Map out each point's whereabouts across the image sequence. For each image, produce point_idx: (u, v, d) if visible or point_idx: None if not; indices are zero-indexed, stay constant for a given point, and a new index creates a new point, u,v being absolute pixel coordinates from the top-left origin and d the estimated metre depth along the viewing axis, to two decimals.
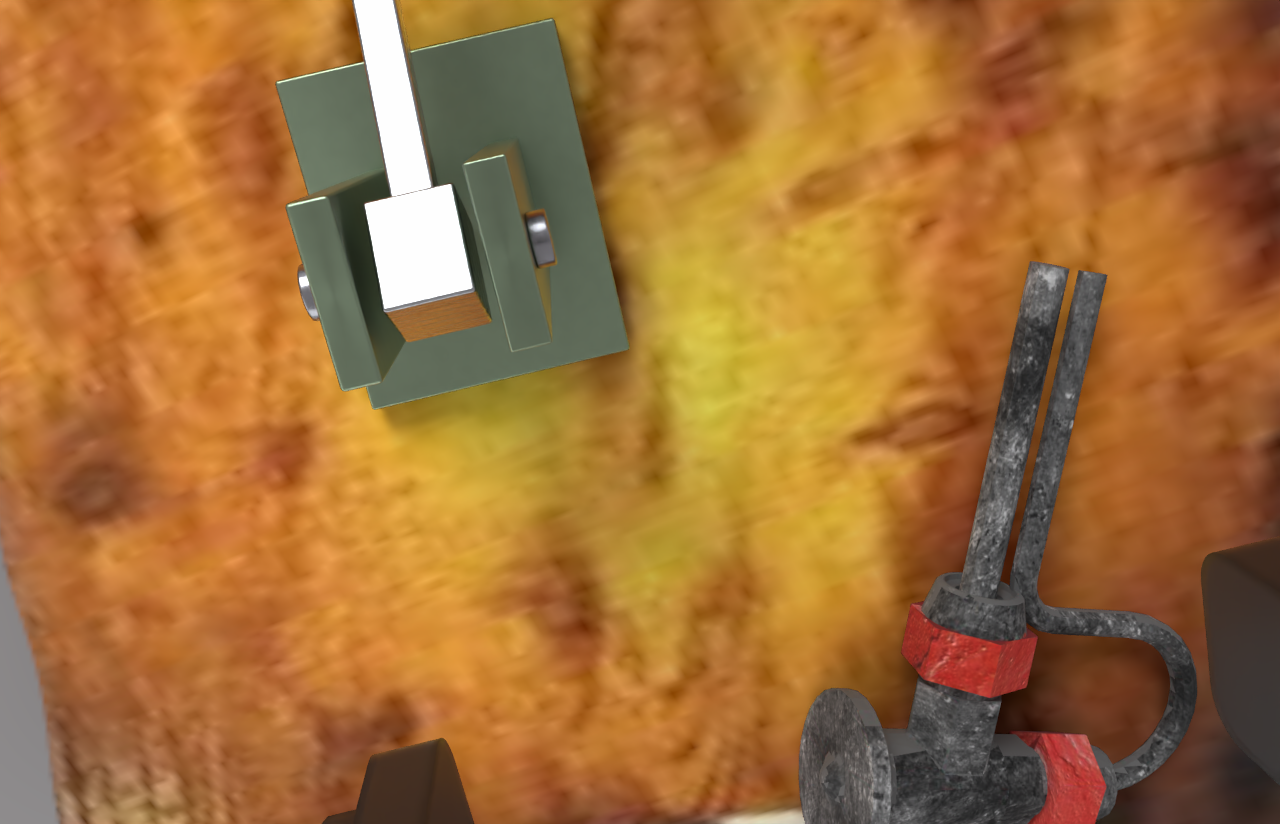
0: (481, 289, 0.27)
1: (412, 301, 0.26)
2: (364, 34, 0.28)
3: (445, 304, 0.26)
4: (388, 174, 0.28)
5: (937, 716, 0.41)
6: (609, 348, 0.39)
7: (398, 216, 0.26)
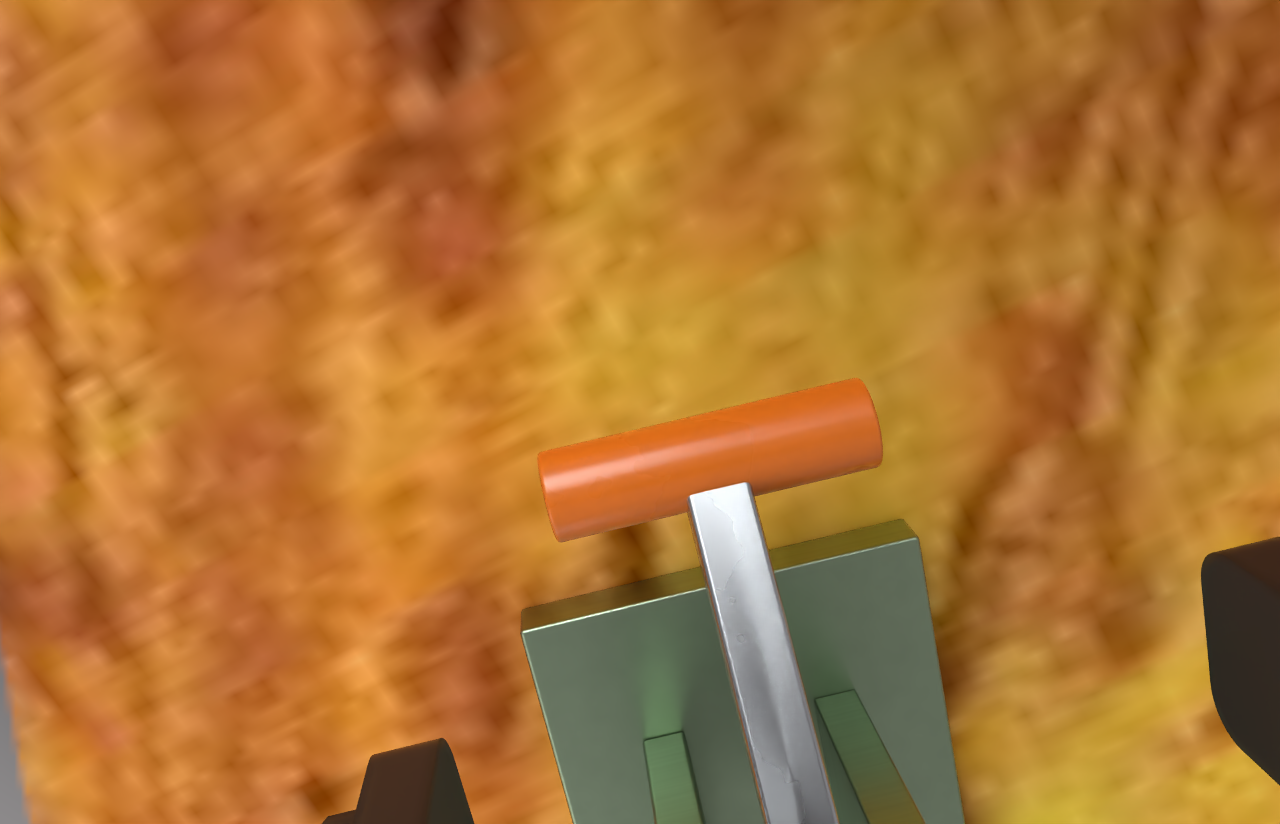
0: None
1: None
2: (768, 788, 0.18)
3: None
4: None
5: None
6: None
7: None
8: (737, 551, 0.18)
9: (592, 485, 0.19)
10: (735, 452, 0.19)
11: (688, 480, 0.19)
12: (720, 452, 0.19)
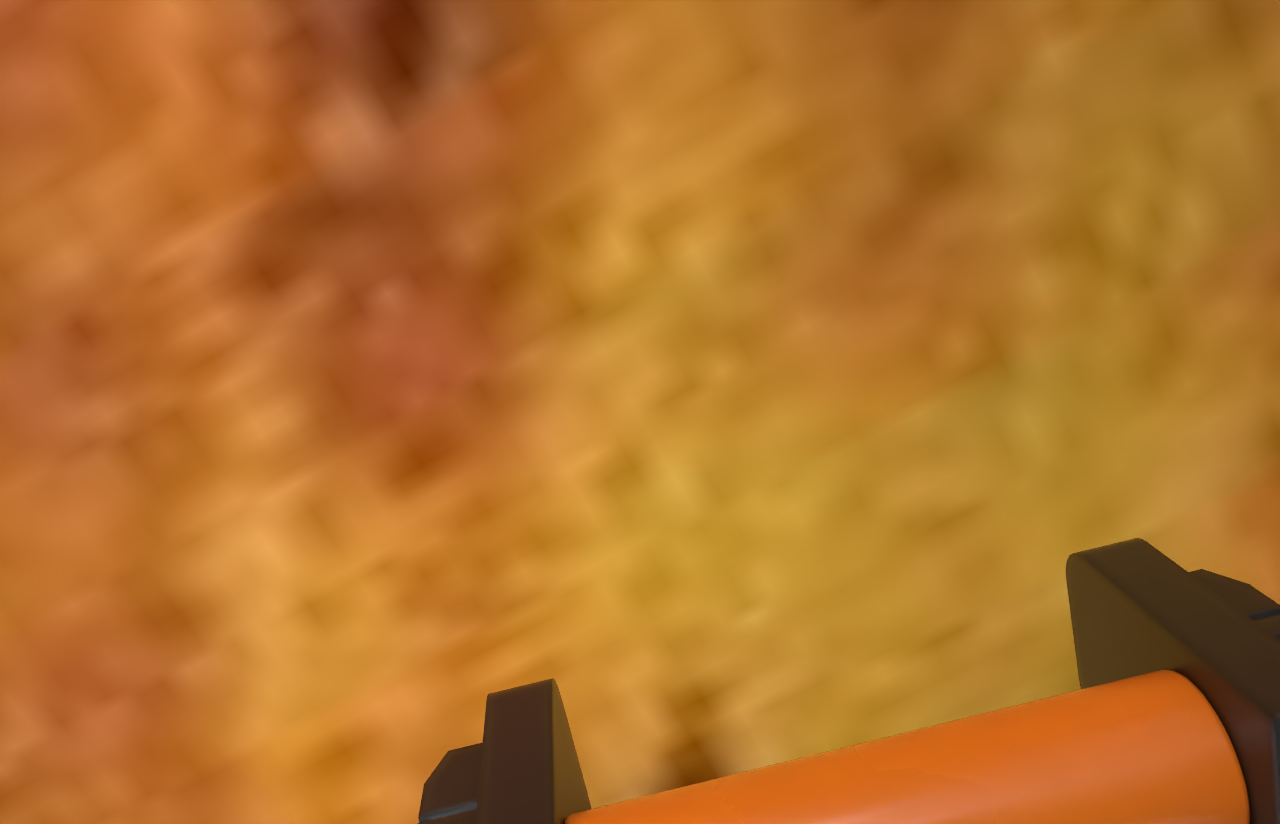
0: None
1: None
2: None
3: None
4: None
5: None
6: None
7: None
8: None
9: None
10: None
11: None
12: None
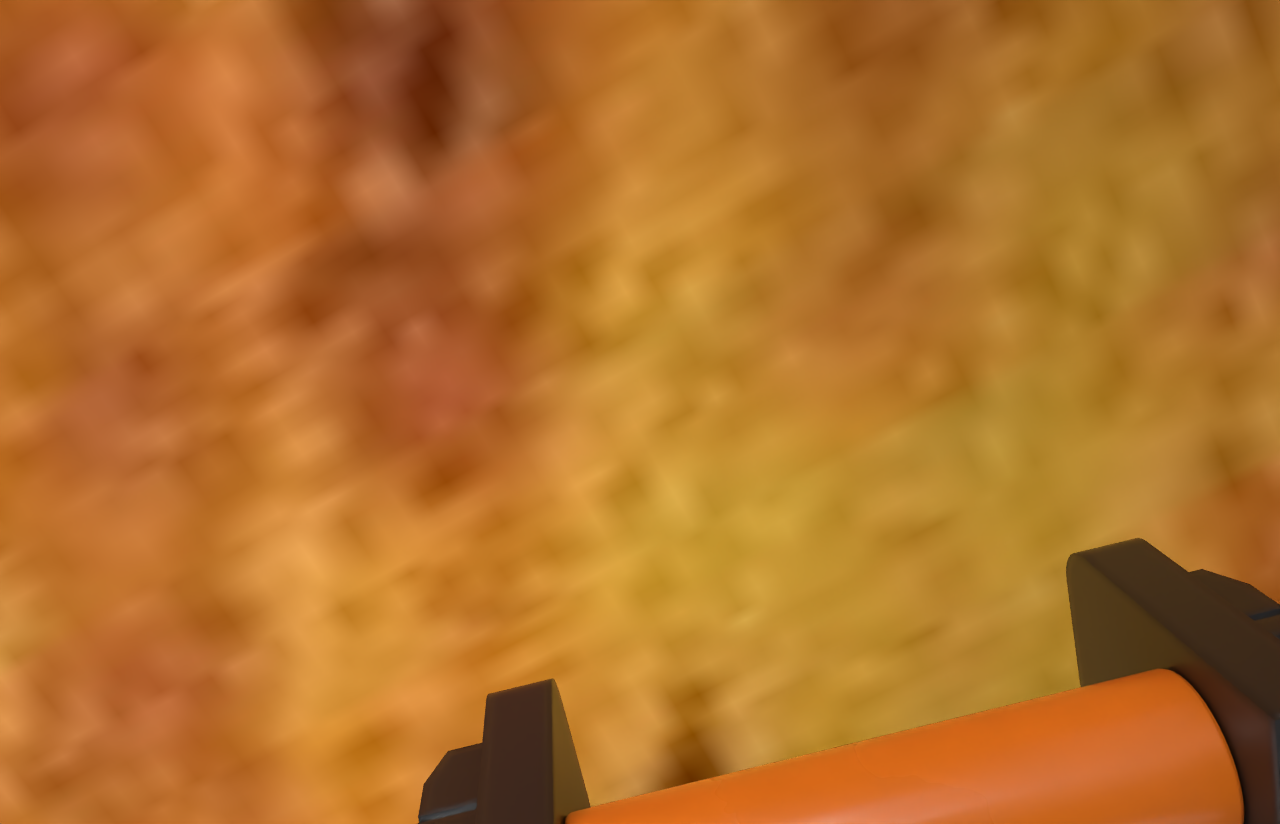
0: None
1: None
2: None
3: None
4: None
5: None
6: None
7: None
8: None
9: None
10: None
11: None
12: None
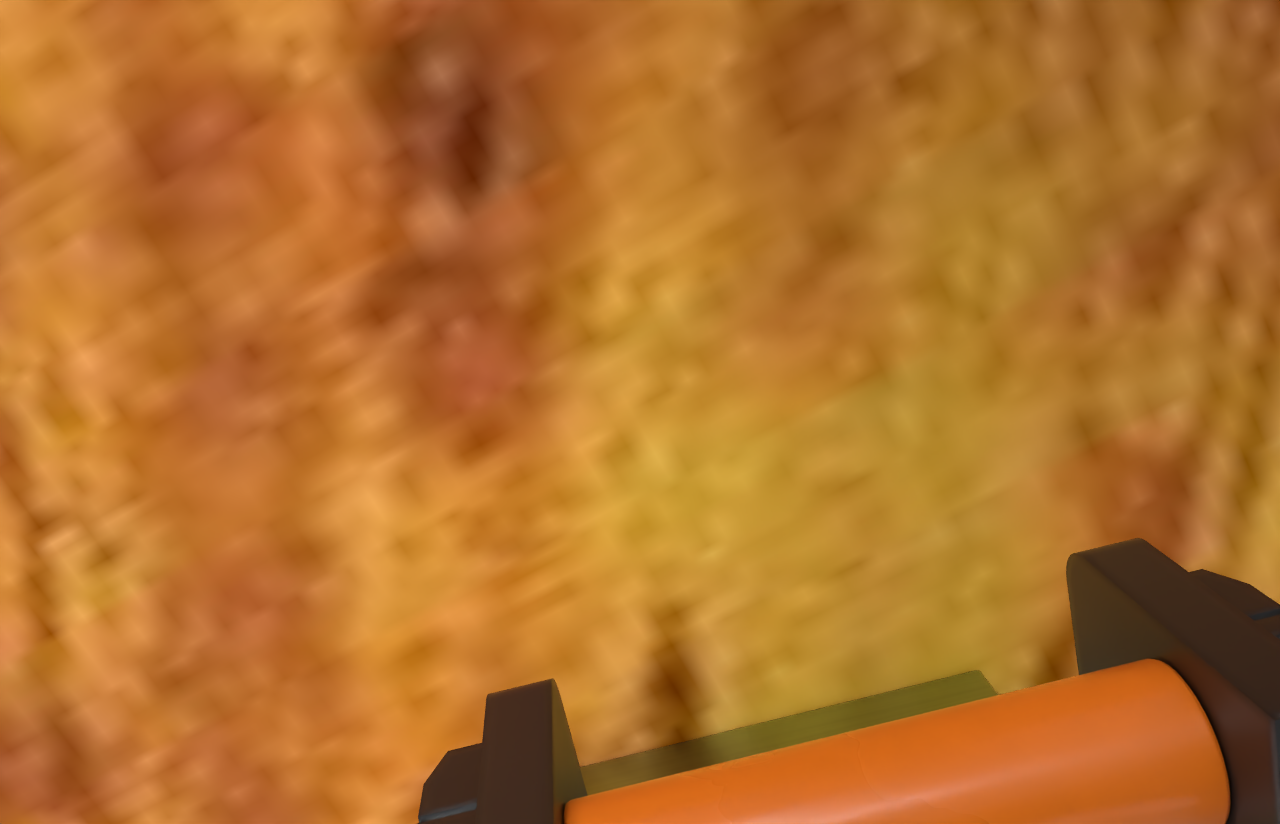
0: None
1: None
2: None
3: None
4: None
5: None
6: None
7: None
8: None
9: None
10: None
11: None
12: None
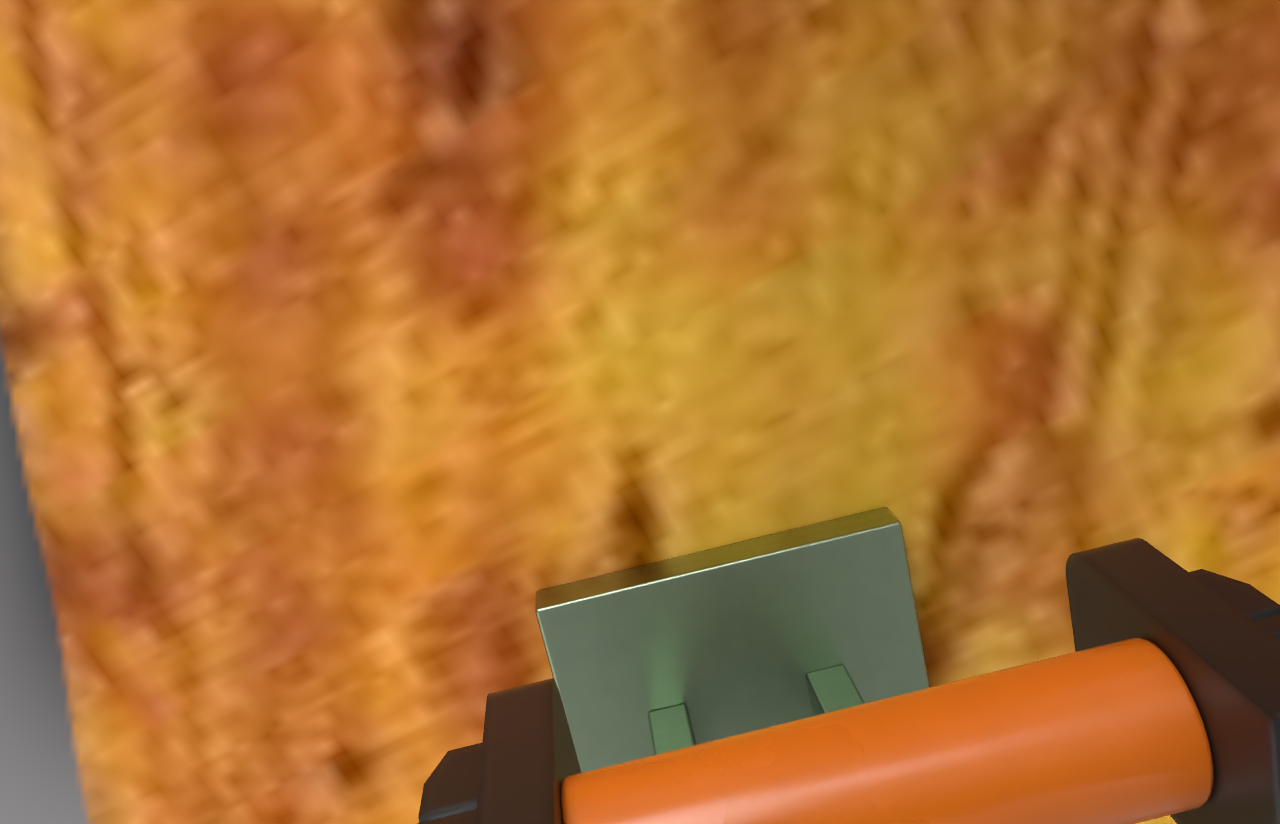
0: None
1: None
2: None
3: None
4: None
5: None
6: None
7: None
8: None
9: None
10: None
11: None
12: None
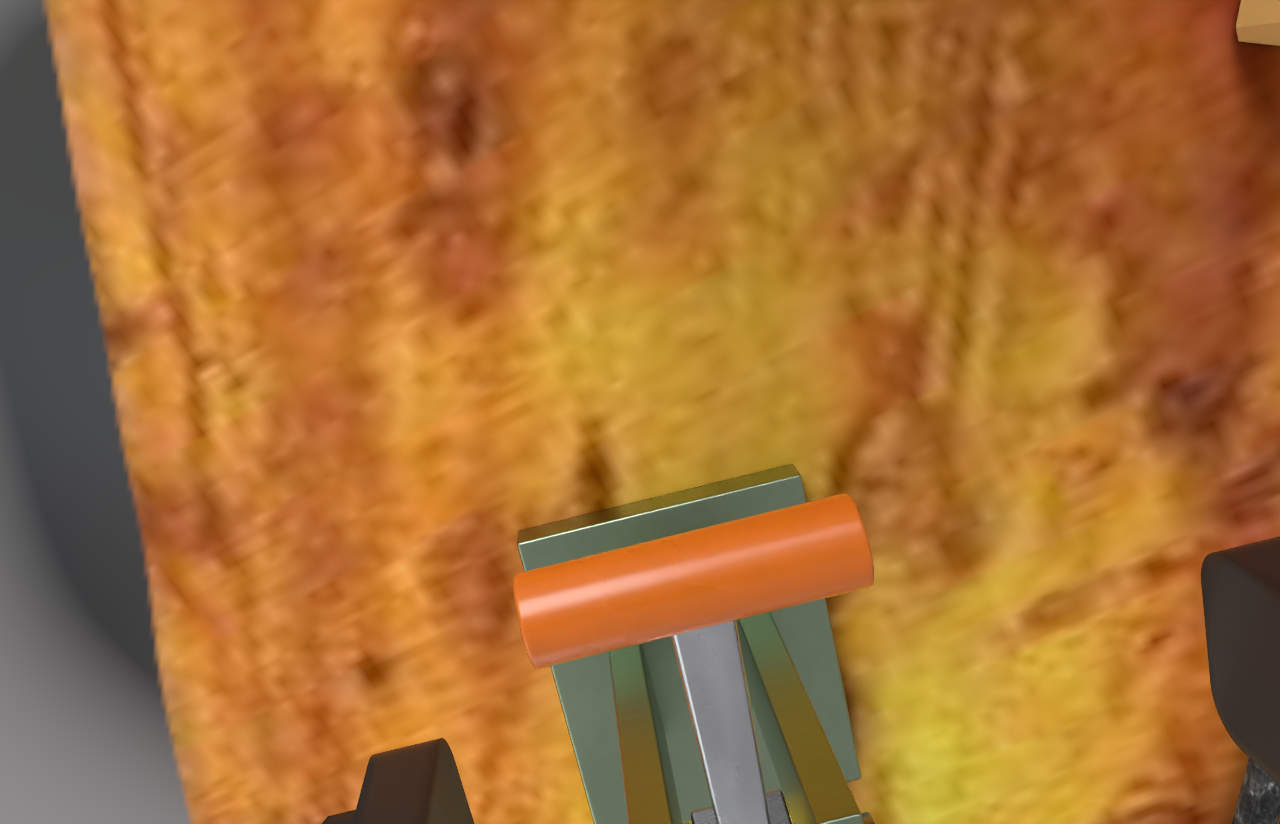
0: None
1: None
2: (712, 770, 0.22)
3: None
4: None
5: None
6: None
7: None
8: (713, 662, 0.19)
9: (581, 652, 0.18)
10: (727, 615, 0.18)
11: (677, 634, 0.18)
12: (713, 618, 0.18)
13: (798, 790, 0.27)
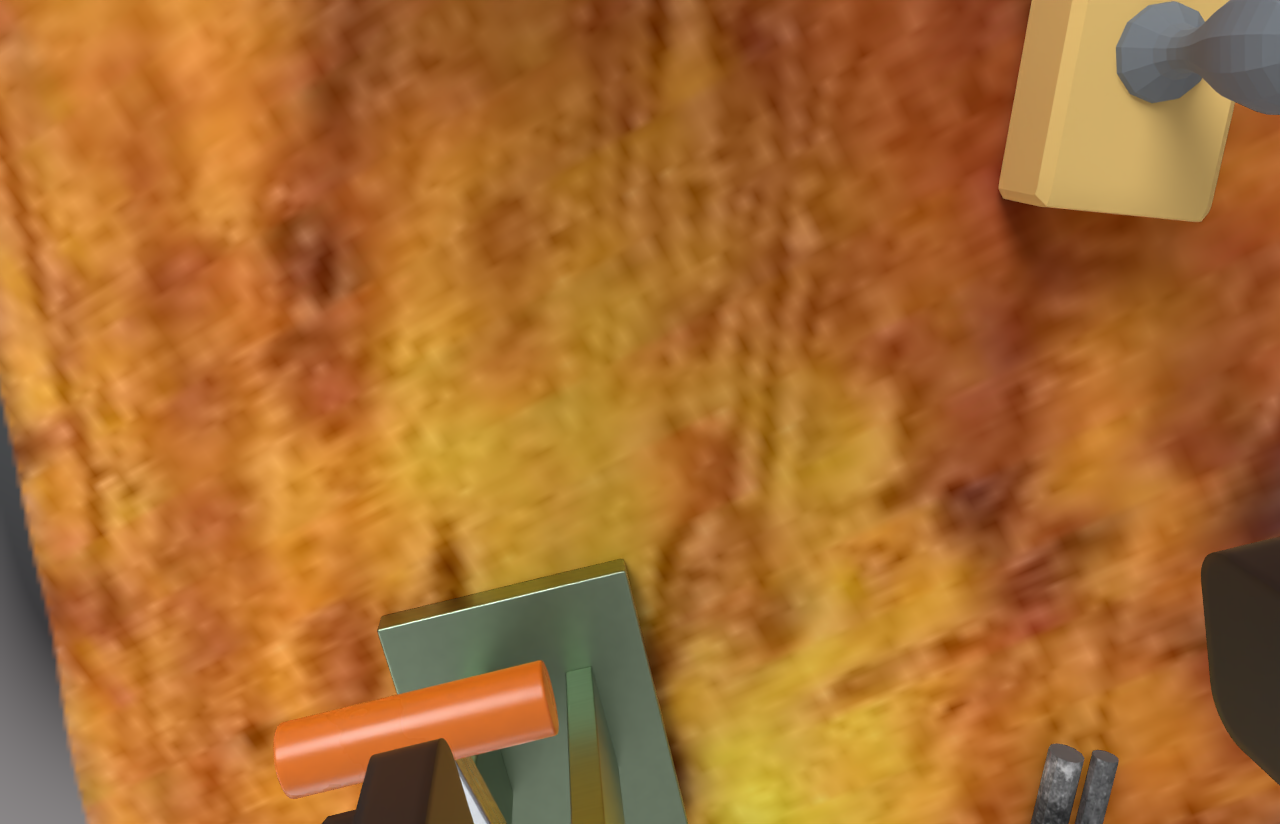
0: None
1: None
2: None
3: None
4: None
5: None
6: None
7: None
8: None
9: (326, 787, 0.23)
10: None
11: None
12: None
13: None
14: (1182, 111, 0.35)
